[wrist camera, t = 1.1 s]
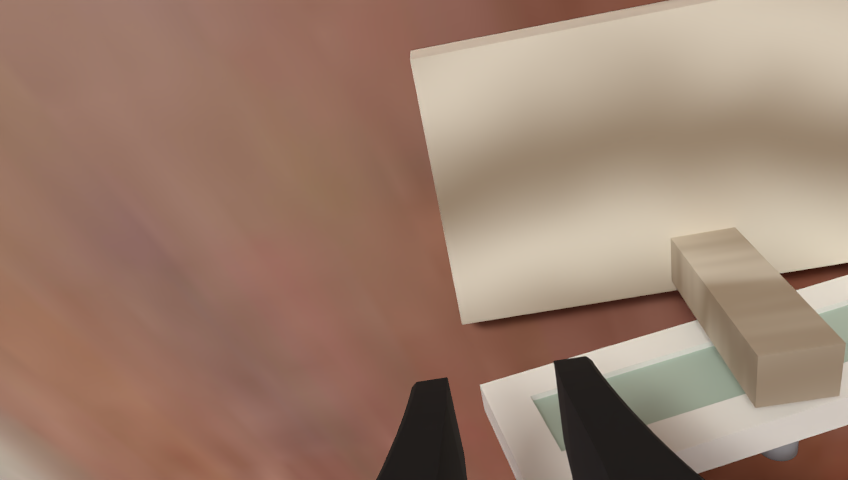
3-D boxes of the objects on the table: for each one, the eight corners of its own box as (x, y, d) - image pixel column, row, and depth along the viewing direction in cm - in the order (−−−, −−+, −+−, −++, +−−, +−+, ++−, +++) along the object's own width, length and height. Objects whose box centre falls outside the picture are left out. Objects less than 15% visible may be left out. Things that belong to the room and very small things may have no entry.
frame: (883, 303, 22) (1018, 384, 18) (487, 424, 21) (539, 541, 17) (890, 262, 22) (1031, 337, 18) (480, 384, 20) (533, 497, 16)
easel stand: (931, 228, 22) (1141, 364, 16) (460, 305, 24) (476, 460, 17) (983, -61, 18) (1294, -37, 12) (410, 50, 20) (406, 128, 13)
